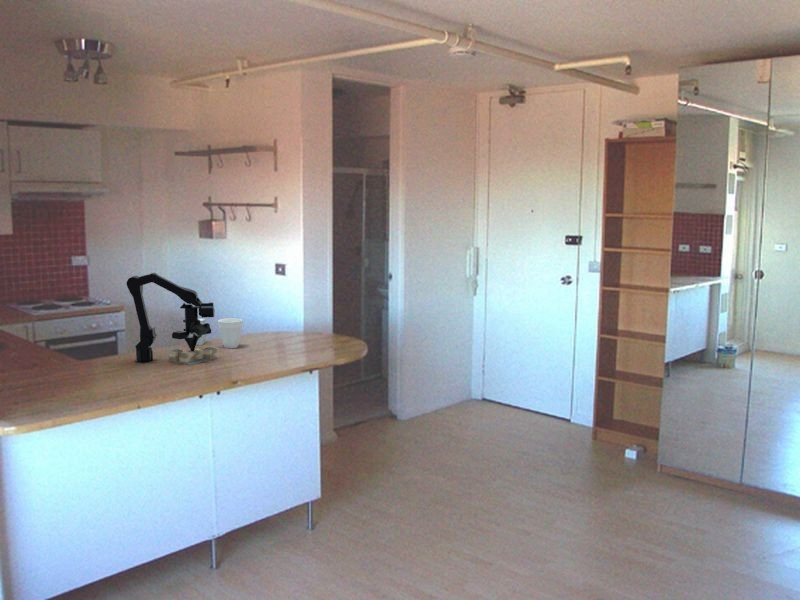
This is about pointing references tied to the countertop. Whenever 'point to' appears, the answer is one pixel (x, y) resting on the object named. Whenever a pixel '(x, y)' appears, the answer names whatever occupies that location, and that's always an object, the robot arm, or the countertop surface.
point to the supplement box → (203, 338)
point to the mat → (194, 361)
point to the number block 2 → (210, 353)
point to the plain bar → (191, 355)
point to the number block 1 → (174, 355)
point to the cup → (230, 331)
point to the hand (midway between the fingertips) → (192, 351)
